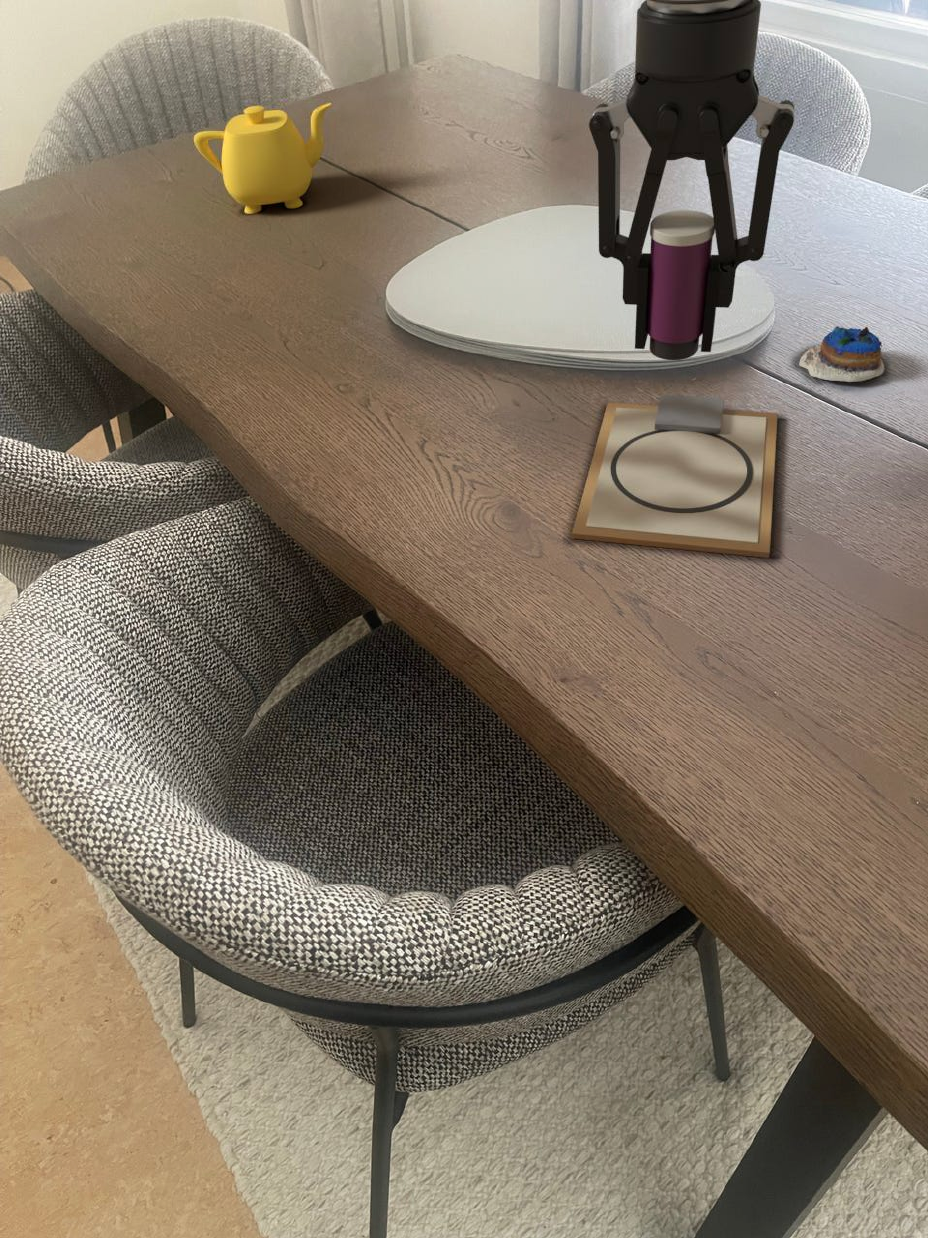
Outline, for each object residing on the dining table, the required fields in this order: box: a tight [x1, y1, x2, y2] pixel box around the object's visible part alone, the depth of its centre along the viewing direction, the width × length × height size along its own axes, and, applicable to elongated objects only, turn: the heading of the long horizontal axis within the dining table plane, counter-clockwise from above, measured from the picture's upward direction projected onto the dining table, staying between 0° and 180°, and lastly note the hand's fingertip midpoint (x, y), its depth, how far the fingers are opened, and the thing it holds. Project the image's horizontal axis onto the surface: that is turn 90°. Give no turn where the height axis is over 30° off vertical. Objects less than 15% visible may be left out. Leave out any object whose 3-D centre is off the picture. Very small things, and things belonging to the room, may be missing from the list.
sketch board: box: [571, 394, 779, 559], centre depth 83 cm, size 21×16×1 cm
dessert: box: [798, 325, 885, 383], centre depth 93 cm, size 8×7×6 cm
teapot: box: [193, 102, 332, 215], centre depth 134 cm, size 13×20×12 cm
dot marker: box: [647, 209, 715, 361], centre depth 71 cm, size 5×5×10 cm
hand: (674, 341), depth 74 cm, fingers closed on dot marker, 4 cm apart
